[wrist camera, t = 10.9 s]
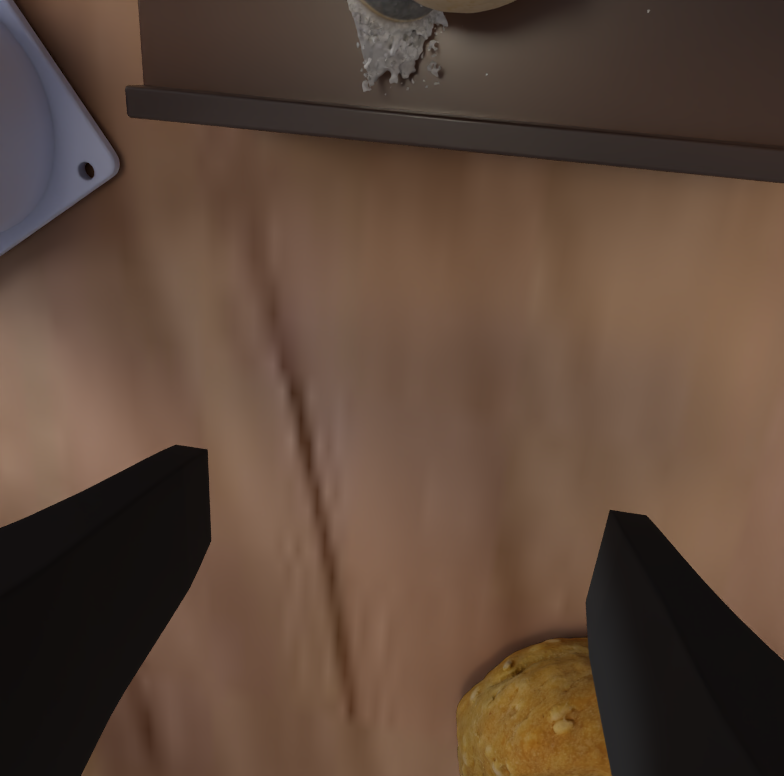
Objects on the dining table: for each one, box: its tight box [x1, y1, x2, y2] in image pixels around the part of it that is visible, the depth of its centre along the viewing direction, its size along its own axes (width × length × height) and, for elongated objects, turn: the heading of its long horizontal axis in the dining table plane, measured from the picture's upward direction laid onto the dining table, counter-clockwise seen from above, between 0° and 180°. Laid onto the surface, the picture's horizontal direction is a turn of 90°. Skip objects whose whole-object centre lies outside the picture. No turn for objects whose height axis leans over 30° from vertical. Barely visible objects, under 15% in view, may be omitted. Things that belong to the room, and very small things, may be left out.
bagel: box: [456, 637, 612, 776], centre depth 25 cm, size 10×11×5 cm
